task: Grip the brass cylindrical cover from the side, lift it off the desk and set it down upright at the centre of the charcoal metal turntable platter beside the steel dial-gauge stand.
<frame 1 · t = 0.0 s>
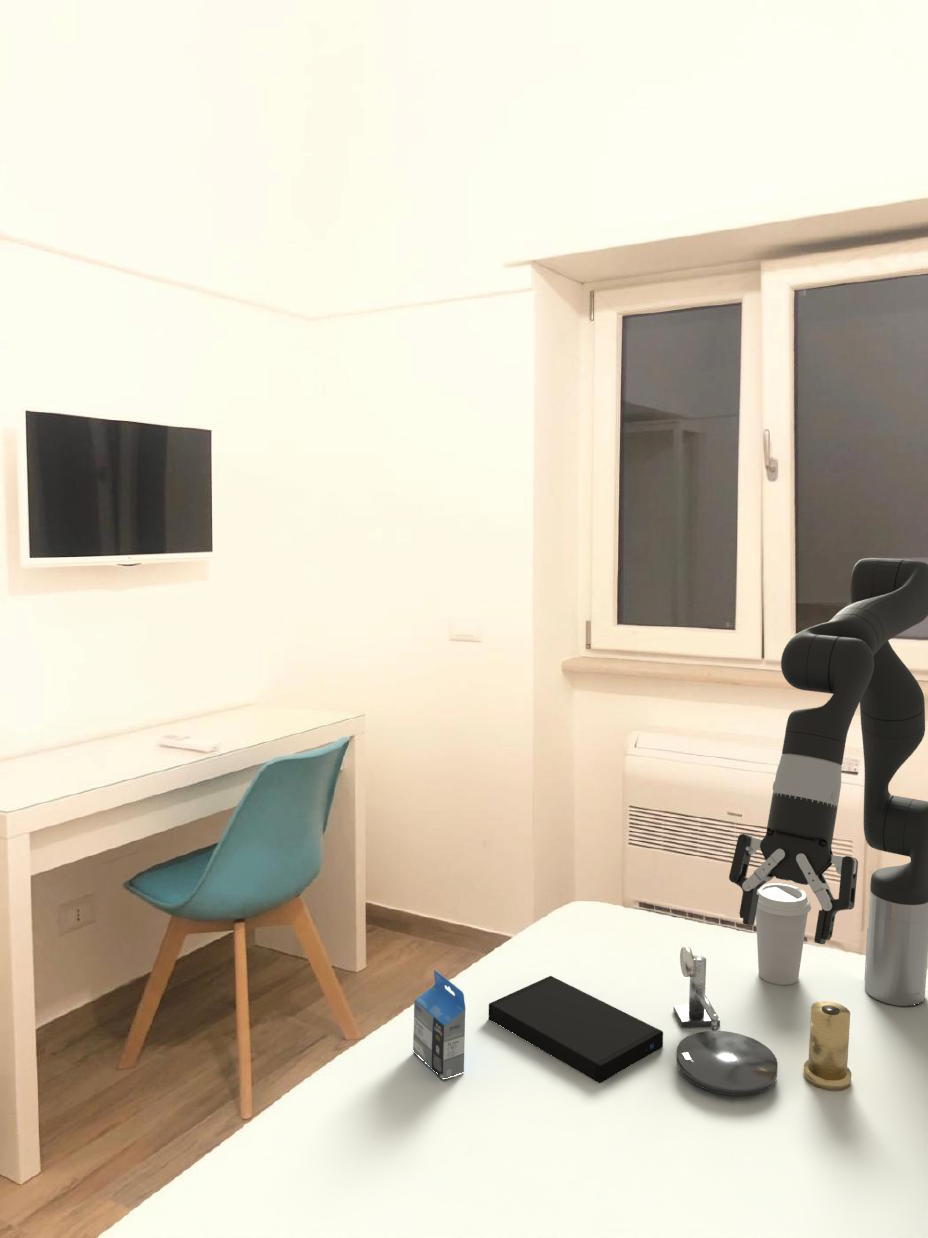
hand: (782, 933, 122), 31 cm above the table, fingers open, 8 cm apart
label tape box: (438, 1064, 151), on the table
coffee cup: (778, 977, 177), on the table
brass cover: (827, 1078, 147), on the table
dial gauge stand: (696, 1018, 163), on the table
turntable platter: (726, 1060, 148), point 2 cm above the table, hinge at 0.0°
external hard drive: (573, 1036, 159), on the table
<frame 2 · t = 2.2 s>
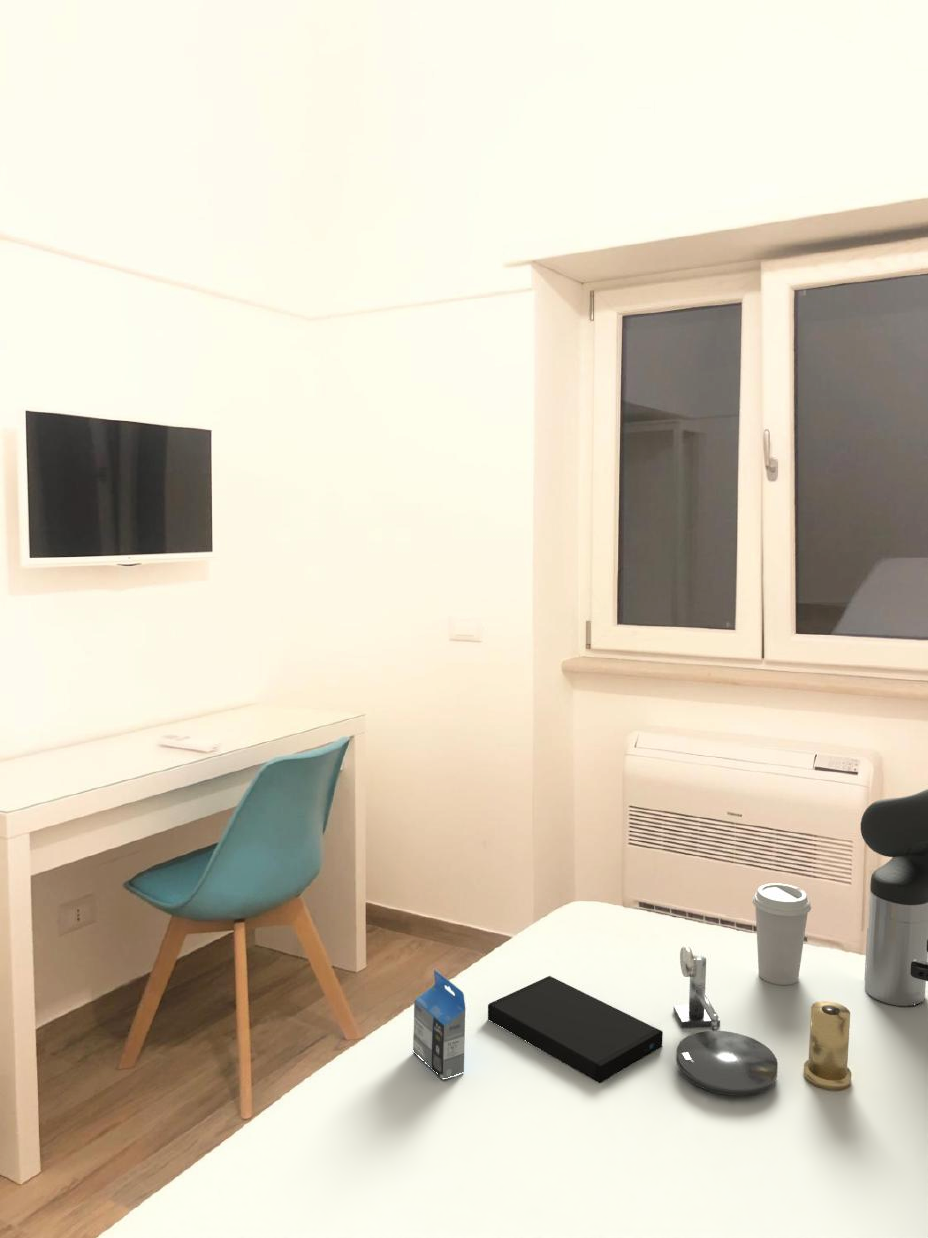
hand: (919, 955, 138), 22 cm above the table, fingers open, 8 cm apart
nothing on the table moved.
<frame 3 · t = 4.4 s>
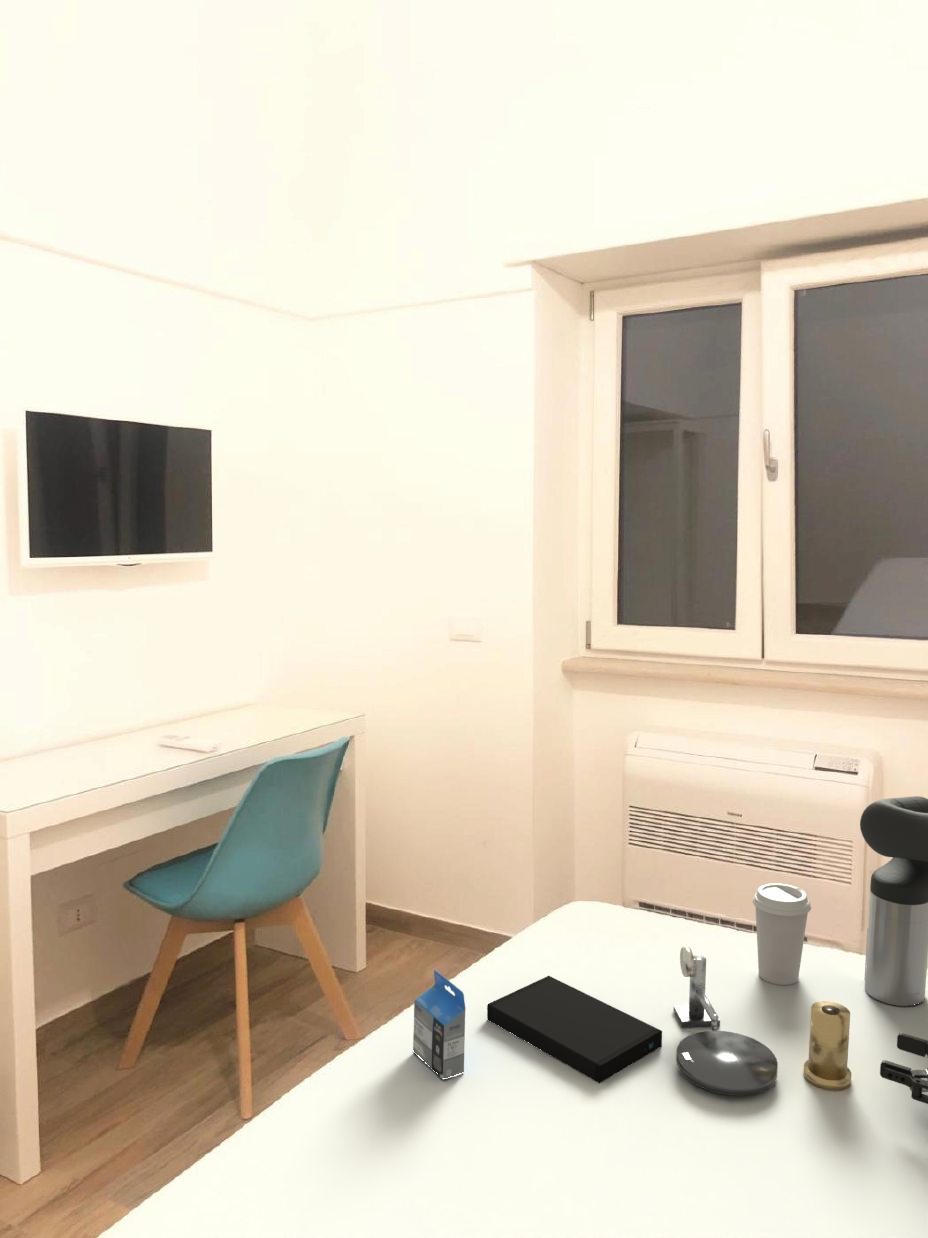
hand: (889, 1054, 142), 6 cm above the table, fingers open, 8 cm apart
nothing on the table moved.
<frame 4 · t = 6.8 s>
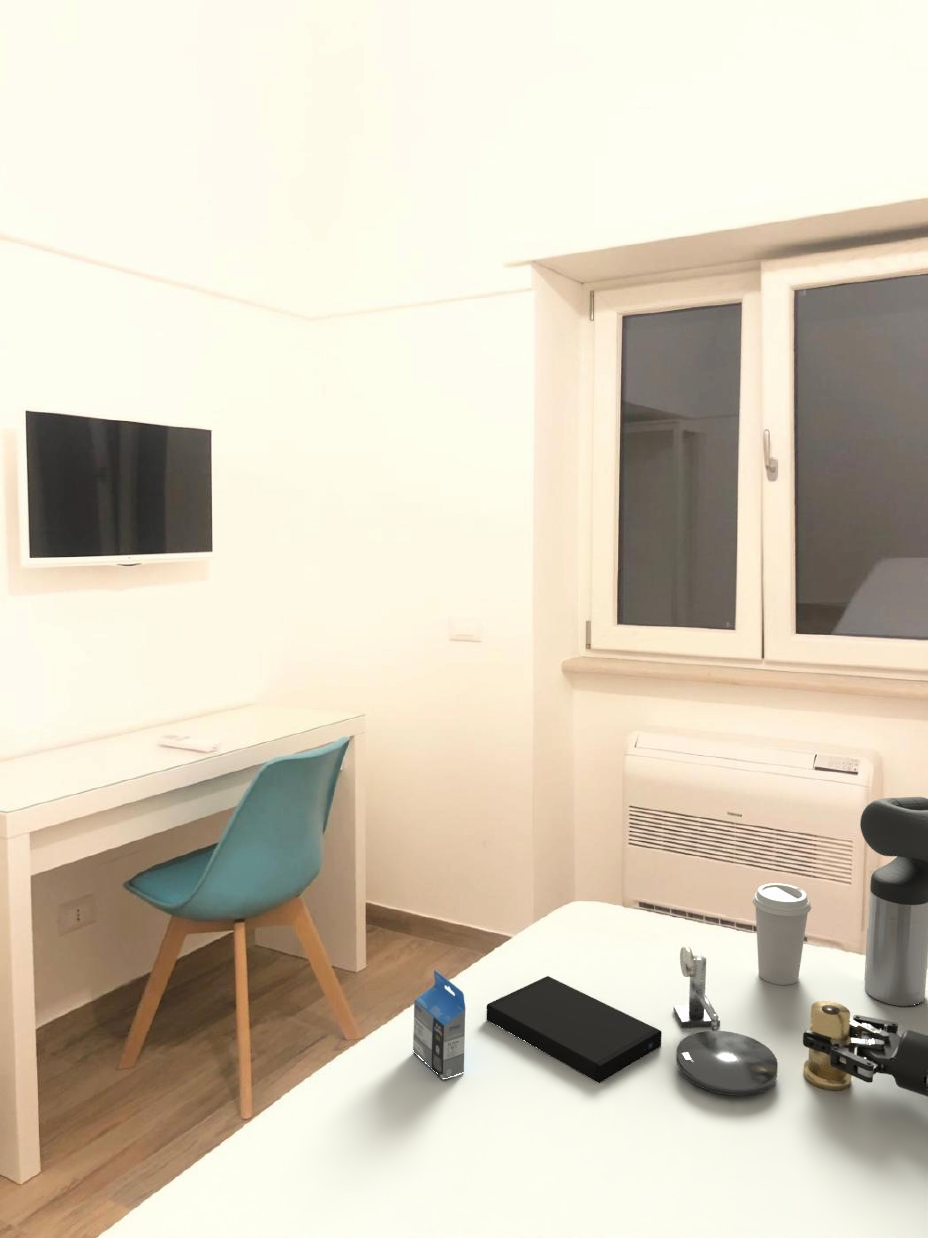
hand: (811, 1029, 148), 7 cm above the table, fingers closed on brass cover, 5 cm apart
brass cover: (826, 1077, 147), on the table, touching gripper
everything else where it was.
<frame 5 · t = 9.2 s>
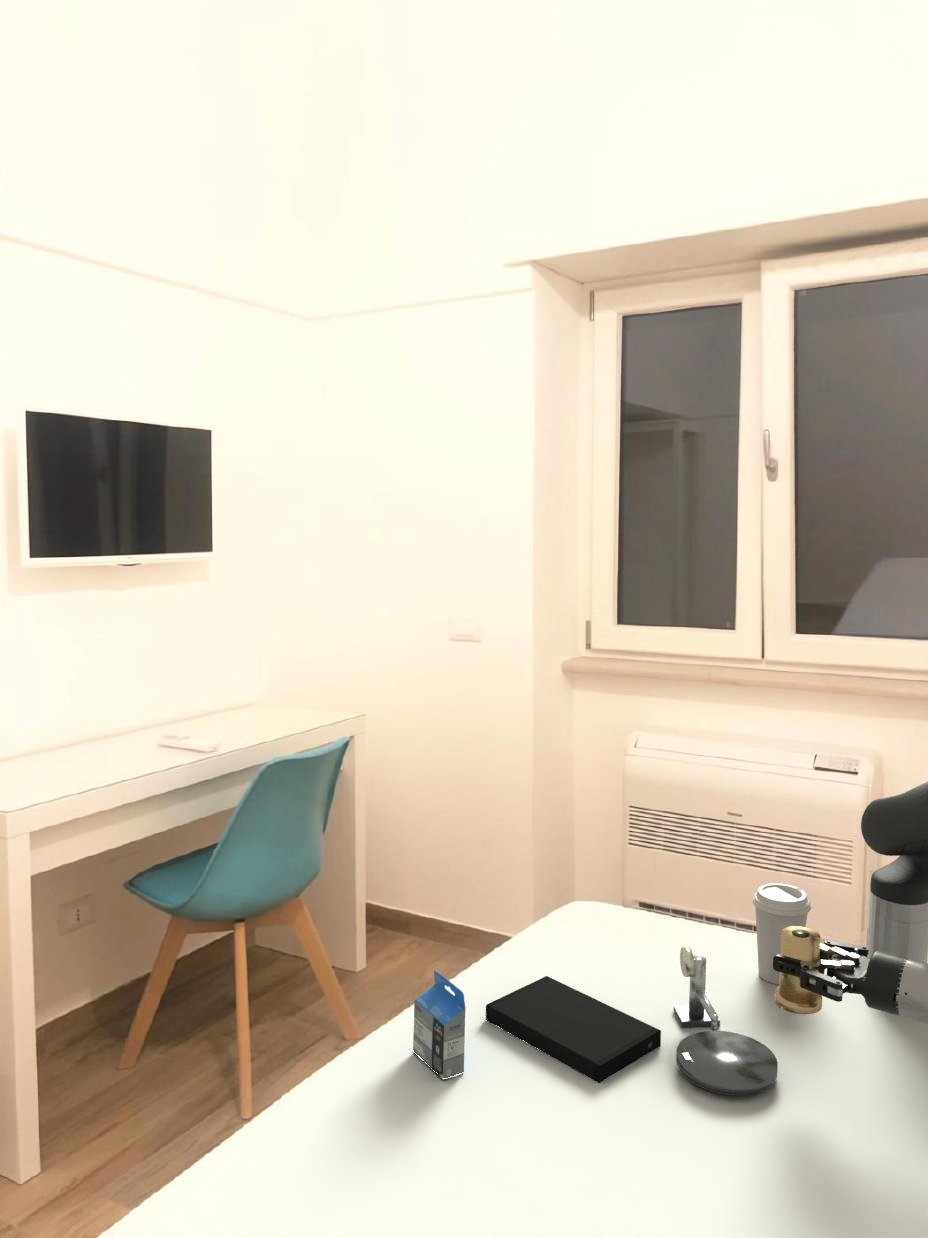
hand: (781, 954, 146), 18 cm above the table, fingers closed on brass cover, 5 cm apart
brass cover: (798, 1003, 146), point 11 cm above the table, touching gripper
everything else where it was.
when the fingers open (11 cm above the table, at t = 11.8 s): brass cover drops 1 cm, resting on turntable platter.
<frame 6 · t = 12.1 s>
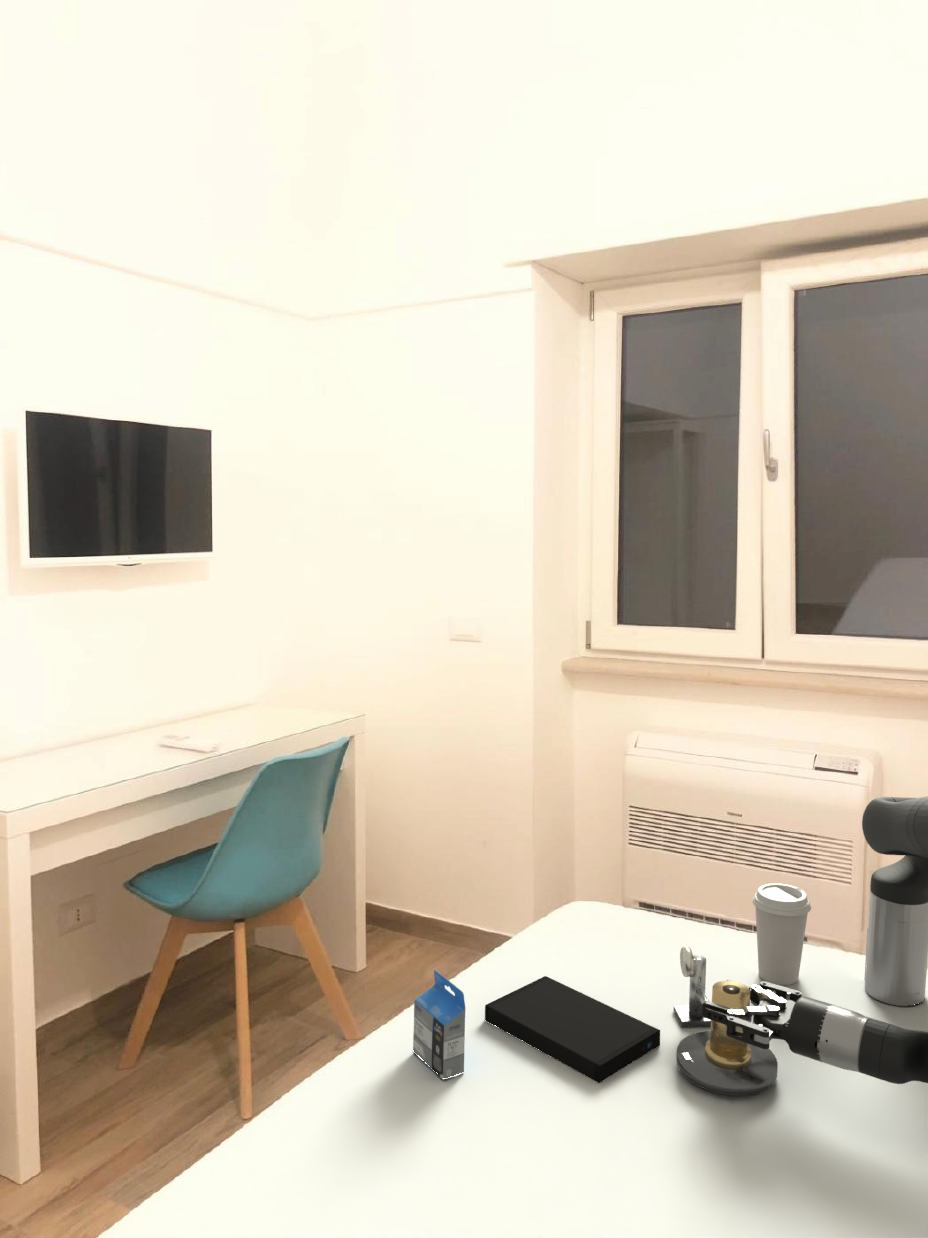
hand: (714, 997, 148), 11 cm above the table, fingers open, 7 cm apart
brass cover: (727, 1056, 148), point 3 cm above the table, touching turntable platter
turntable platter: (726, 1060, 148), point 2 cm above the table, hinge at 0.0°, touching brass cover
everything else where it was.
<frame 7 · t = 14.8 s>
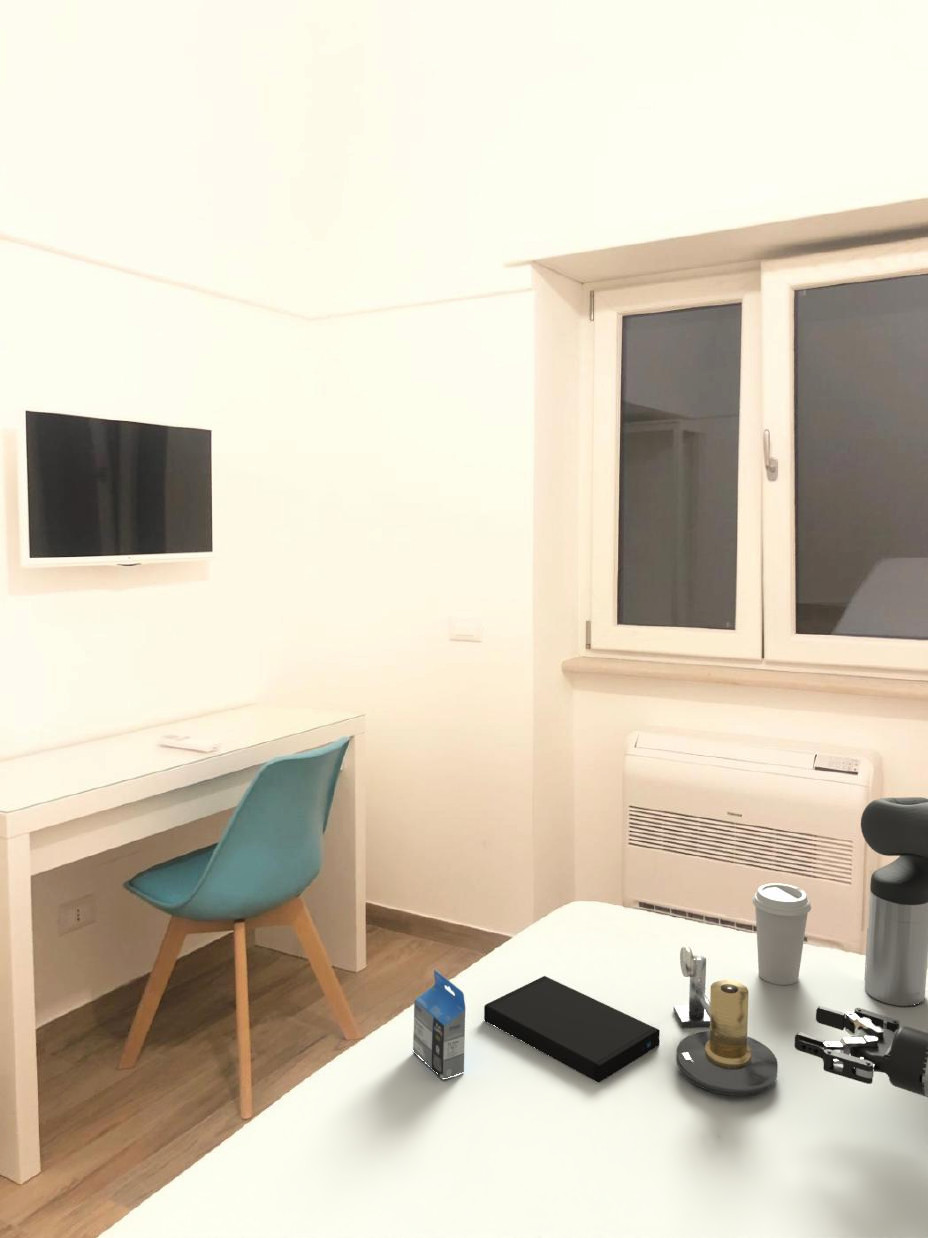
hand: (806, 1026, 140), 11 cm above the table, fingers open, 8 cm apart
nothing on the table moved.
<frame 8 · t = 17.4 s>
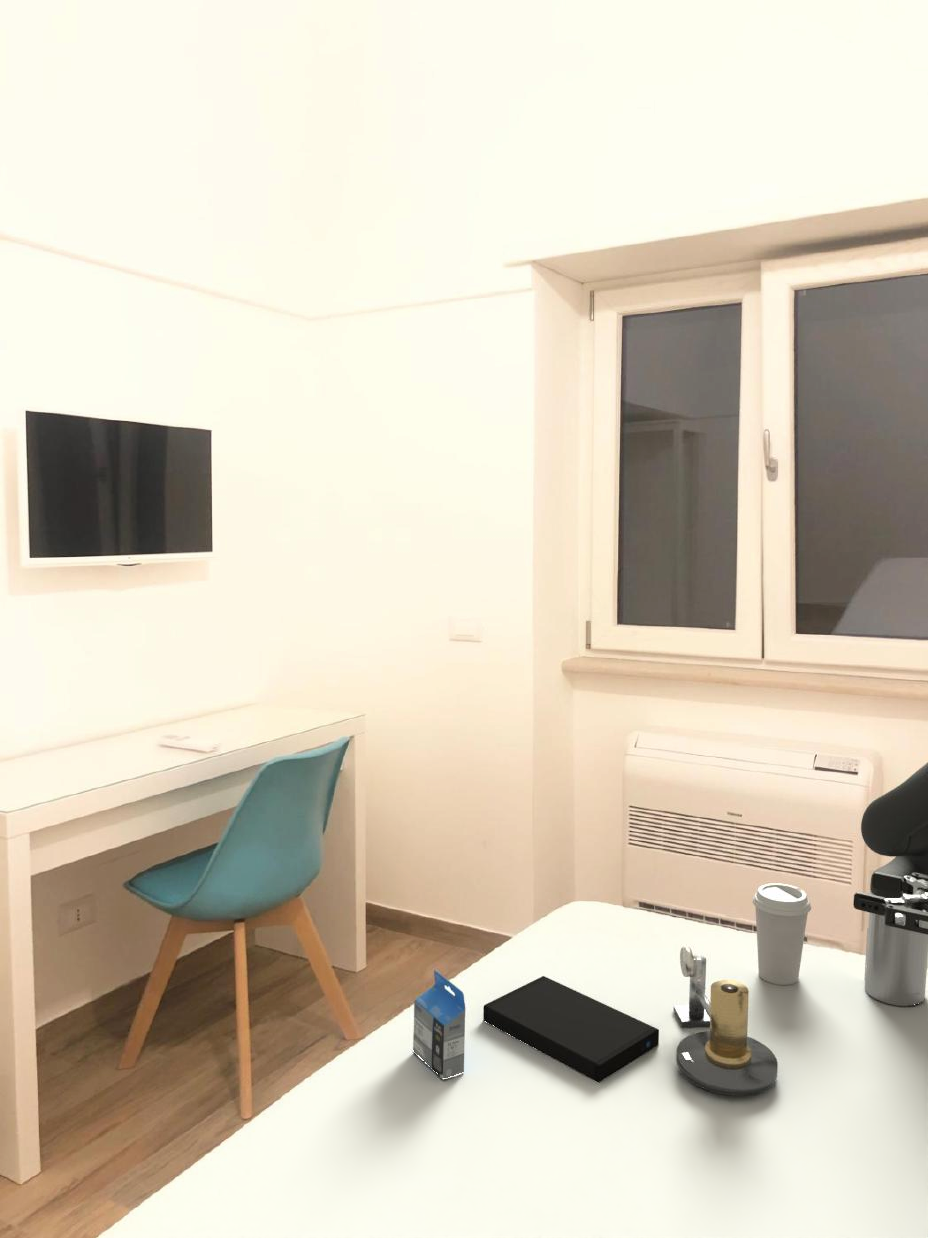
hand: (863, 889, 138), 30 cm above the table, fingers open, 8 cm apart
nothing on the table moved.
at the end: brass cover 0.2 cm from the turntable platter (horizontally); brass cover tilted 1°; brass cover touching turntable platter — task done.
